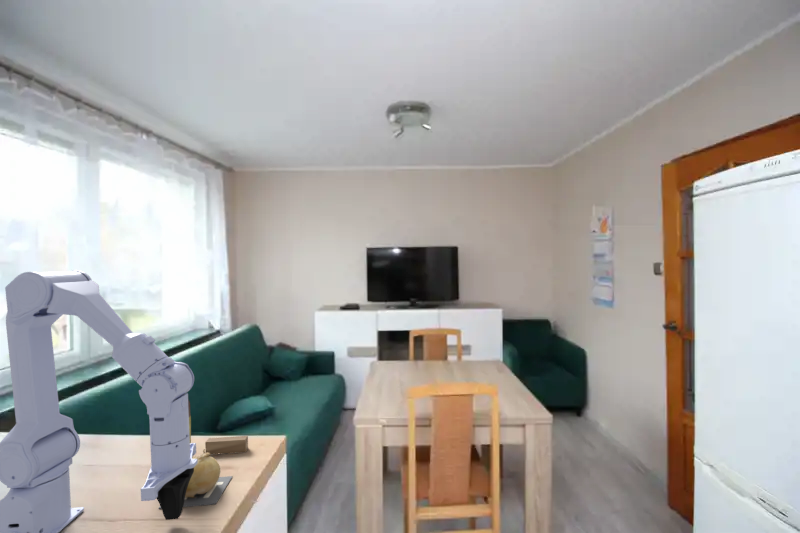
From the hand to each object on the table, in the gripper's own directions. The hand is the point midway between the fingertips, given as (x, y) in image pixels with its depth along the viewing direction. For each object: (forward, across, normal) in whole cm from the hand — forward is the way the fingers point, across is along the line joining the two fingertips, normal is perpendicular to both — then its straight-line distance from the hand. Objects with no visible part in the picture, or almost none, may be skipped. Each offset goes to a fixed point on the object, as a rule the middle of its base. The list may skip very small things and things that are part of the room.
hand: (173, 516), depth 66 cm
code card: (+1, +10, 0) cm, 10 cm away
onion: (+1, +10, 0) cm, 10 cm away
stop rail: (+1, +26, 0) cm, 26 cm away
